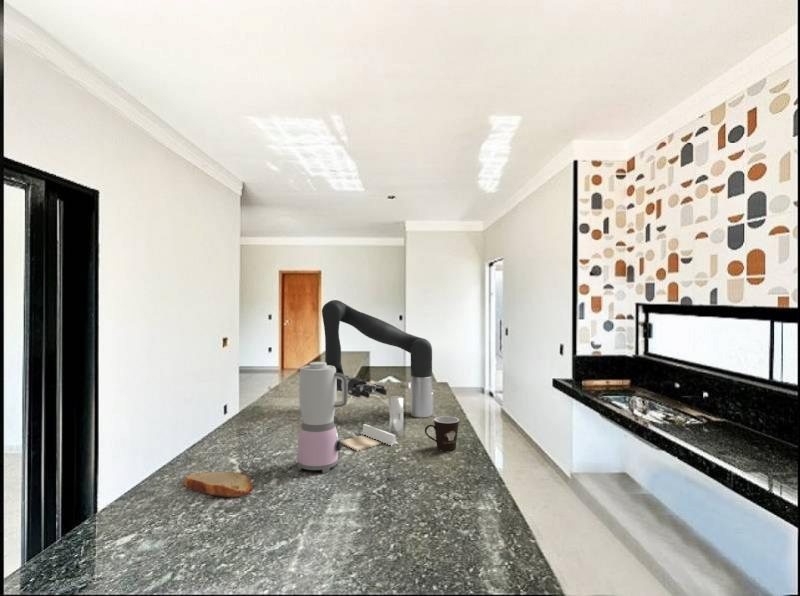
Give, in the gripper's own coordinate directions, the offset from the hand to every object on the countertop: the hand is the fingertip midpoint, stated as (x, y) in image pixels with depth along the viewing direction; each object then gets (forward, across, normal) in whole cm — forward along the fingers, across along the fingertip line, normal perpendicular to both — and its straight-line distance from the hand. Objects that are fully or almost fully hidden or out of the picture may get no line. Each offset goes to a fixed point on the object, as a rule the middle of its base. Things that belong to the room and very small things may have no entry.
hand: (377, 393), depth 183 cm
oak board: (+12, -16, +14) cm, 24 cm away
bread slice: (+15, -68, +15) cm, 71 cm away
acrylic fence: (+12, -8, +14) cm, 20 cm away
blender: (+22, -38, +14) cm, 45 cm away
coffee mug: (+34, +2, +13) cm, 36 cm away
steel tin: (+12, 0, +14) cm, 18 cm away
